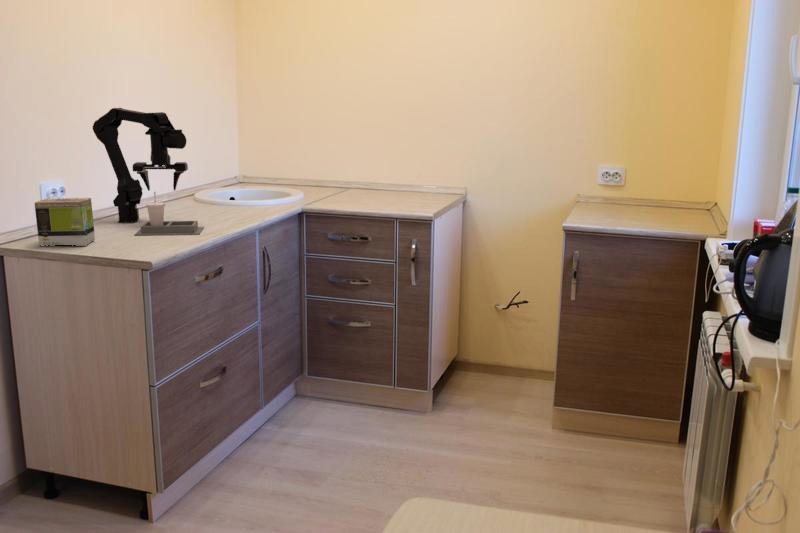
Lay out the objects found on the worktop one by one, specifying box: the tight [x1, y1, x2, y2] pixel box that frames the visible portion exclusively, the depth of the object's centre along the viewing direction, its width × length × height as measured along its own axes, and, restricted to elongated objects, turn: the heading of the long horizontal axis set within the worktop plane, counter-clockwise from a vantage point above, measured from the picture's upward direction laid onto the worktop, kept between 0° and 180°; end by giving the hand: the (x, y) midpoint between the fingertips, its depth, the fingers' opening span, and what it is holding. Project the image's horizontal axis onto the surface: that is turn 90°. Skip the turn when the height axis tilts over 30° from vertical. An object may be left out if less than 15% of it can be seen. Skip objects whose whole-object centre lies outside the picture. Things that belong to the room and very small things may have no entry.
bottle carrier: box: [134, 220, 205, 237], centre depth 280 cm, size 22×13×3 cm, turn 97°
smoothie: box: [145, 191, 166, 226], centre depth 278 cm, size 6×6×14 cm
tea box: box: [34, 197, 96, 247], centre depth 258 cm, size 15×10×15 cm, turn 92°
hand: (161, 190), depth 290 cm, fingers open, 9 cm apart
